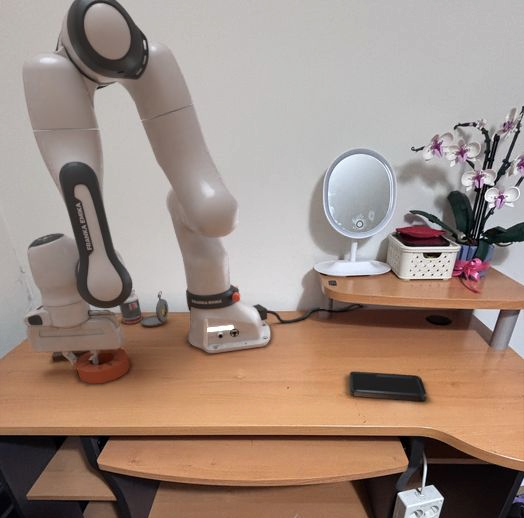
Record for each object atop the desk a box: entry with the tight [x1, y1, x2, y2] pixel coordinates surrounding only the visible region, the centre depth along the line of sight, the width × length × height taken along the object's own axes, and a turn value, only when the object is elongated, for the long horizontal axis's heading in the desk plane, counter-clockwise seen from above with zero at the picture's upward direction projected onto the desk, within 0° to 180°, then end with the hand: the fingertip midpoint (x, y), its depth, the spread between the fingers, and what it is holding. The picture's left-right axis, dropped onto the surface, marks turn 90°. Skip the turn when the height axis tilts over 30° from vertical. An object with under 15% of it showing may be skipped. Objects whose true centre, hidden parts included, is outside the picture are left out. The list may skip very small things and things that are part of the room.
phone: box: [348, 370, 427, 402], centre depth 80 cm, size 8×1×15 cm
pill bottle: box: [118, 286, 143, 325], centre depth 112 cm, size 6×6×10 cm
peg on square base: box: [51, 350, 90, 362], centre depth 97 cm, size 10×10×12 cm
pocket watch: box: [140, 291, 169, 328], centre depth 109 cm, size 8×8×10 cm
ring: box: [75, 347, 131, 385], centre depth 89 cm, size 11×11×3 cm
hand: (85, 364), depth 89 cm, fingers closed on ring, 3 cm apart
